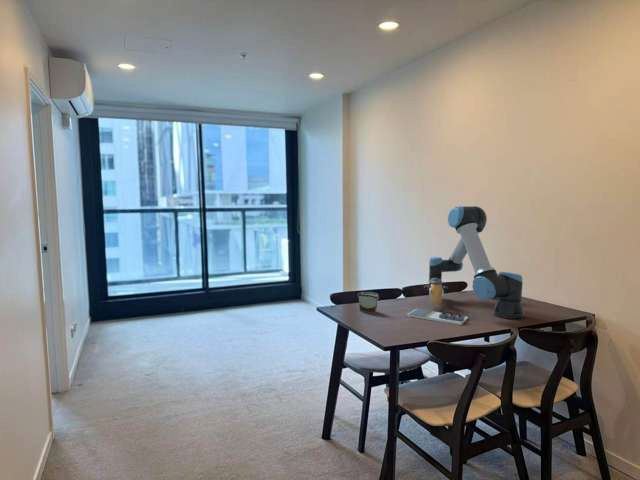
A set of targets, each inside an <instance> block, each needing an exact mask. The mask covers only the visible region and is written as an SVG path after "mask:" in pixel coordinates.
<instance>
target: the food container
mask: <svg viewBox="0 0 640 480" xmlns="http://www.w3.org/2000/svg"><path fill="white" fill-rule="evenodd" d="M357 297H358V304H359V307H358V308H359V312H364V313H371V314H376V313H377V308H378V300H379V299H380V296H379V294H378V293H377V292H371V291H361V292H358V293H357Z"/></svg>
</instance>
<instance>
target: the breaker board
mask: <svg viewBox="0 0 640 480" xmlns="http://www.w3.org/2000/svg"><path fill="white" fill-rule="evenodd" d="M454 313H455V312H454V311H450V313H447V311H446V309H444V310H442V312H439V311H435V310H431V309H423V308H415V309H413V310H412V311H410V312H408V313H407V314H406V315H407V317H409V318H415V319H423V320H428V321H434V322H439V323H445V324H446V323H447V324H452V325H459V326H462V325H463V324H464V323H465V322H467V321H468V320H469V319H468V318H469V317H468V316H464V315H463V313H462V312H459V313H458V314H454ZM467 319H468V320H467Z"/></svg>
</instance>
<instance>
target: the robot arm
mask: <svg viewBox="0 0 640 480" xmlns="http://www.w3.org/2000/svg"><path fill="white" fill-rule="evenodd" d="M487 222H488V221H487V213H486V211H485V210H484V209H483V208H481V207H479V206H476V205H475V206H474V205H473V206H462V205H459V206H454V207H452V208H451V209H450V210H449V212H448V215H447V223H448V225H449V227H451V228H454V229H455V231H456V234H459V235H460V236H461V237H460V238H459V240H458V242H457V244H456V246H455V248H454V249H453V251H452V253H451V254H450V256H449V258H448V259H443V258H442V257H441V256H431V257H429V261H428V262H429V264H428V265H429V267H428V268H429V273H428V284H423V292H424V293H427V294H428V295H429V296H431V281H442V278H443V277H442V275H443V273H451V272H455V273H456V272H459V271H462V269H463V267H464V264H463V261H464V258H465V256H467V255H468V257H469V261H470V263H471V266H472V268H473V270H474V275H473V280H472V285H471V286H472V289H473V293H475V295H476V297H478V298H479V299H480V298H481V299H483V300H486V299H487V300H491V299H497V301H496V303H495V306H494V308H493V313H492V314H493V315H494V316H495V315H496V317H497V318H501V317H502V319H507V318H509V320H517V319H516V318H522V317H524V318H525V311H524V307H523V305H522V304H523V303H522V295H523V276H522V274H519V273H513V272H509V271H508V272H507V271H499V272H497V269H495V268H494V267H493V268H494V269H493V268H491V267H492V265H491V264H490V261H489V258H488V256H487V253H486V250H485V248H484V246H483V243H482V240H481V238H480V235H479V234H480V233H482V232H483V231H484V229H485V227H486V224H487ZM497 274H498V275H497ZM442 282H443V281H442ZM444 294H449V286H448V285H442V297H444ZM522 319H523V318H522Z"/></svg>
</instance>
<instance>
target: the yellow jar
mask: <svg viewBox="0 0 640 480" xmlns="http://www.w3.org/2000/svg"><path fill="white" fill-rule="evenodd" d="M442 286H443V281H431V295H430V303H433V304H440V303H442V297H443V296H442Z"/></svg>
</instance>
